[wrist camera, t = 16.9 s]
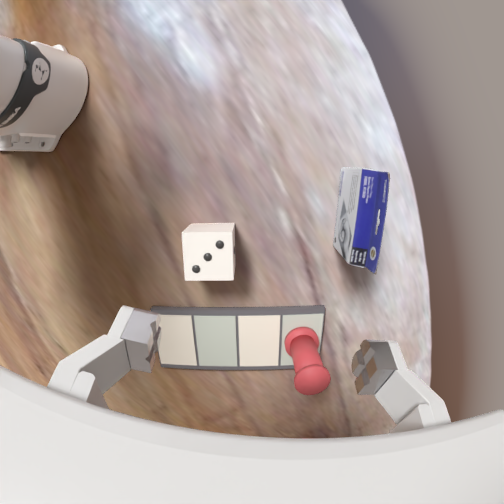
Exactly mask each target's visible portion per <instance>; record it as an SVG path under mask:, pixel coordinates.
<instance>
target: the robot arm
mask: <svg viewBox="0 0 504 504" xmlns="http://www.w3.org/2000/svg"><path fill="white" fill-rule="evenodd" d="M87 89H88V74H87V70H86V67H85V65H84V64H83V62H82V61H81V60H80V59H79V58H77V57H75V56H72V55H70V54H69V53H68V52H67V50H66V48H65V47H64V46H62V45H59V44H58V45H55V46H53V47H51V46H49V45H46V44H43V43H39V42H36V41H34V42H31V43H30V42H28V41H26V40H21V39H16V38H15V39H10V38H7V37H5V36H2V35H0V151H34V152H51V151H53V150H54V149H55V147H56V145H57V143H58V141H59V139H60V137H61V135H62V133H63V132H64V131H65V130H66V129H67V128H68V127H69V126H70V125H71V123H72V122H73V121H74V120H75V118H76V117H77V115H78V113H79V112H80V110H81V108H82V106H83V103H84V101H85V97H86V94H87ZM44 142H45V145H44ZM160 321H161V317H160V314H159V313H155V312H151V311H146V310H142V309H138V308H133V307H129V306H125V305H123V306H122V307H121V308H120V310H119V312H118V314H117V316H116V318H115V320H114V322H113V324H112V326H111V328H110V330H109V333H108V335H102V336H100V337H99V338H97V339H96V340H94V341H92V342H91V343H89V344H87V345H86V346H84V347H83V348H81V349H79V350H78V351H76V352H74V353H73V354H71V355H70V356H68V357H66V358H65V359H63V360H61V361H60V362H59V364H58V365H57V367H56V369H55V371H54V374H53V376H52V378H51V380H50V382H49V384H48V386H47V387H45V386H43V385H41V384H38V383H36V382H34V381H31V380H29V379H27V378H25V377H23V376H21V375H19V374H17V373H15V372H13V371H11V370H9V369H7V368H5V367H3V366H1V365H0V504H504V410H496V411H493V412H490V413H486V414H483V415H479V416H476V417H472V418H468V419H465V420H460V421H456V422H452V423H451V420H450V417H449V414H448V412H447V409H446V406H445V403H444V401H443V400H442V399H441V398H440V397H439V396H438V395H437V394H436V393H435V392H434V391H433V390H432V389H431V388H430V387H429V386H428V385H426V384H425V383H424V382H423V381H422V380H421V379H420V378H419V377H418V376H417V375H416V374H415V373H414V372H413V371H411V370H408V368H407V366H406V363H405V360H404V358H403V355H402V352H401V350H400V347H399V345H398V343H397V342H396V341H385V340H364V341H363V342H362V343H361V345H360V347H361V349H360V350H359V351H357V352H356V353H355V355H354V356H353V359H352V372H353V374H354V375H355V376H356V377H357V378H356V380H355V386H356V390H357V394H358V395H374V396H375V397H376V398H377V400H378V401H379V402H380V404H381V405H382V406H383V407H384V409H385V410H386V411H387V413H388V414H389V415H390V416H391V418H392V419H393V420H394V422H395V423H396V424H397V425H396V426H395V427H394V428H393V429H392V430H391V431H390V432H389V434H381V435H371V436H359V437H343V438H275V437H258V436H246V435H236V434H227V433H218V432H211V431H204V430H198V429H192V428H186V427H180V426H175V425H170V424H165V423H160V422H156V421H151V420H147V419H143V418H139V417H135V416H131V415H127V414H124V413H120V412H116V411H113V410H110V409H109V408H108V406H107V404H106V401H105V399H104V397H103V395H102V394H104V393H105V392H106V391H107V390H108V389H109V388H111V387H112V386H113V385H114V384H115V383H116V382H118V381H119V380H120V379H121V378H122V377H123V376H124V375H126V374H127V373H128V372H129V371H130V370H131V369H134V370H139V371H143V372H148V373H152V369H153V366H154V363H155V353H156V352H157V351H158V349H159V346H160V341H161V327H160V326H159V324H160Z"/></svg>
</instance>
